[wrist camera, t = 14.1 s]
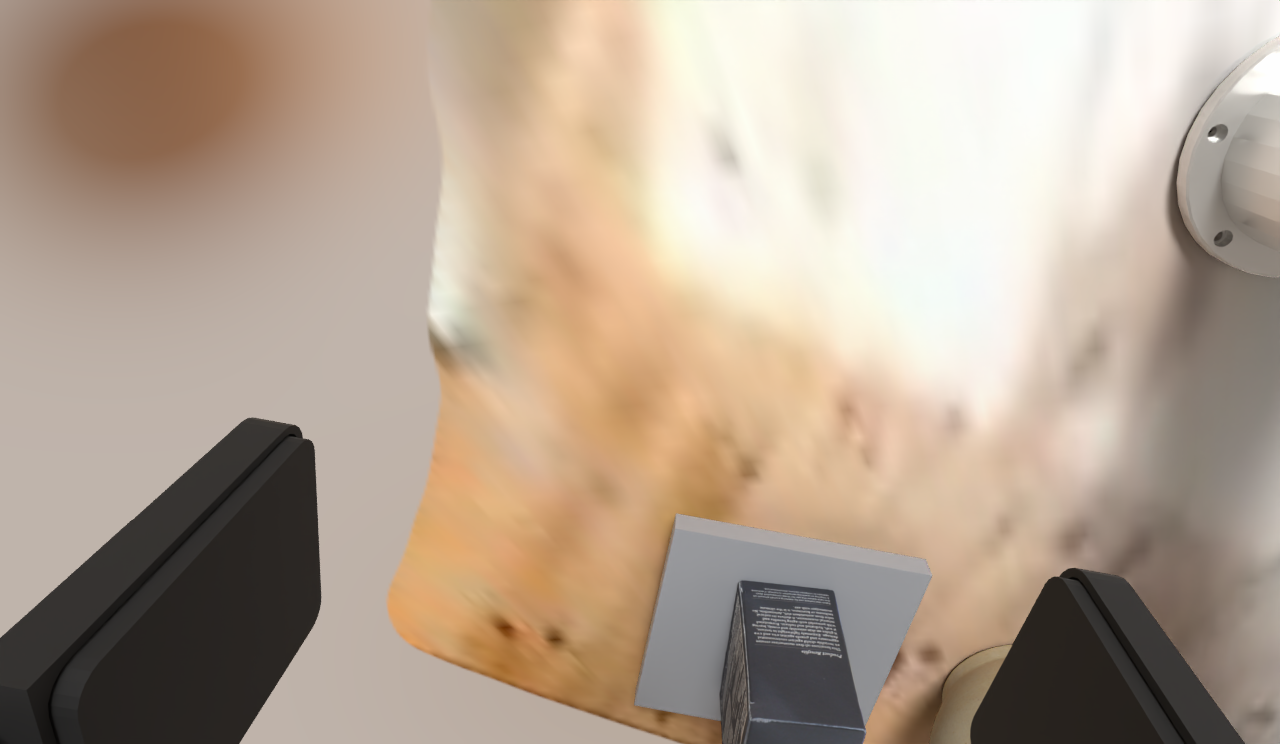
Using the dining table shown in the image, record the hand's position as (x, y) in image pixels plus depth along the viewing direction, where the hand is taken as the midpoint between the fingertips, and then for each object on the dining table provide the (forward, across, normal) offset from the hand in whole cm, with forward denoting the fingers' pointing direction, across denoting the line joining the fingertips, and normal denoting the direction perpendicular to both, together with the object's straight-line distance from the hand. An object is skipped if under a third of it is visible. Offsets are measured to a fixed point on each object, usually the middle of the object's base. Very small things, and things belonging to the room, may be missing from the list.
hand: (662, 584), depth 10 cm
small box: (+30, -11, +30) cm, 43 cm away
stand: (+33, -11, +30) cm, 46 cm away
